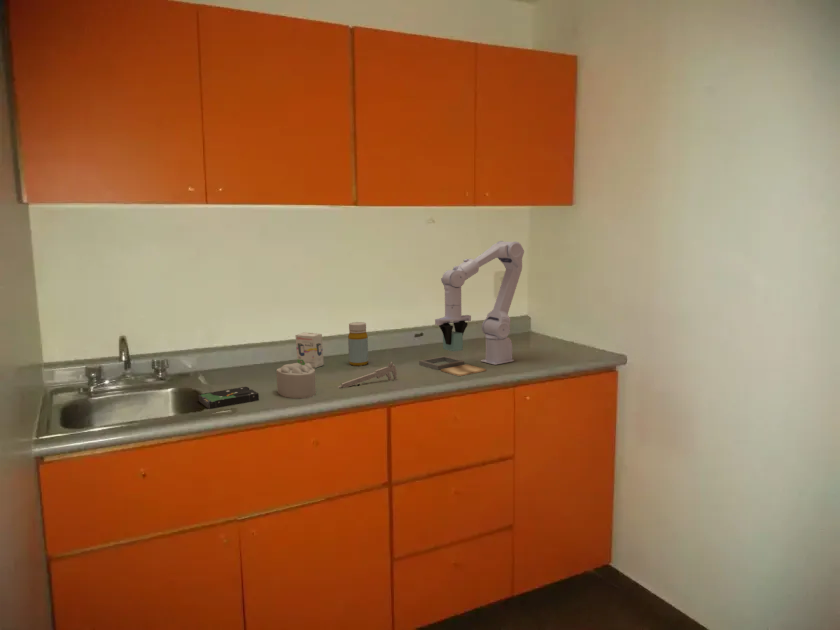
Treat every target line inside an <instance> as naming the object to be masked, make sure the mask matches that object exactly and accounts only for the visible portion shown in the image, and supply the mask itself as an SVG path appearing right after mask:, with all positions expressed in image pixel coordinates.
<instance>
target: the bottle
mask: <svg viewBox="0 0 840 630" xmlns="http://www.w3.org/2000/svg"><path fill="white" fill-rule="evenodd" d="M348 332H349V333H348V337H347V343H348V344H347V345H348V363H349V365H351V366H353V367H358V366H361V367H362V366H366V365H367V364H368V363H369V343H368V342H369V339H368V337H369V336H368V333H367V323H366V322H364V321H363V322H362V321H360V322H359V321H356V322H355V321H354V322H350V323H348Z"/></svg>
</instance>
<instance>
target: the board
mask: <svg viewBox="0 0 840 630" xmlns="http://www.w3.org/2000/svg"><path fill="white" fill-rule="evenodd" d="M440 371H441V372H444V373H447V374H450V375H452V376H453V375H454V376H458V377H463V376H467V375H471V374H472V375H473V374H477V373H481V372H487V368H483V367H479V366H476V365H472V364H468V363H467V364H464V365H460V366H455V367H450V368H445V369H441V370H440Z"/></svg>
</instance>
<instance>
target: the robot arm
mask: <svg viewBox="0 0 840 630" xmlns="http://www.w3.org/2000/svg"><path fill="white" fill-rule="evenodd" d="M524 254H525V250H524V248H523V246H522V244H521V243H520V242H519V241H503V240H500V241H497V242H496V243H493V244H492V245H491V246H490V247H489V248H487V249H486V250H484V251H483V252H482V253H480V255H477V257H475V258H465V259H463V262H461V263H459V264H458V265H455V266H452V267H453V268H452V269H448V270H446V271H445V272H443V274H442V277H441V278H440V282H441V284H442V285H443V287H444V288H443V290H444V316H443V317H440V318H435V319H434V324H435V326H438V327H439V328H440V330H441V332H442V336H443V335H444V338H445V342H446V344H448V345H451V335H452V331H453V330H454V332H460V333H463V334H464V332H465V331H466V328H467V327H468V325H469V324H468V322H472V315H470V314H465V315H462V287H463V286H464V284H465V281H466V280H468V279H470V278H471V277H473V276H474V275H476V274H478V273H479V271H480V270H479V269H480V268H481V267H483V266H485V265H486V264H488V263H490V262H491V261H493V260H495V259H498V260H499V261H500V263H502V265H503V266H504V268H505V271H504V274H503V278H502V281H501V285H500V286H499V291H498V293H497V297H496V298H495V299H496V300H495V303H494V306H493V309H492V310H491V311H490V312H488V313H487V315H486V318H485V319H484V320H483V322H482V324H481V331H482V333H483V334H484V337H485V358H484V359H480V362H482V363H487V364H490V365H493V366H494V365H496V366H497V365H501V364H507V363H511V362H514V361H515V359H513V343H512V340H511V338H510V337H508V336H509V334H510V332H511V331H510V330H511V328H510V327H511V321H512V320H511V318H510V316H509V311H510V308H511V305H512V302H513V298H514V295H515V293H516V289H517V287H518V286H517V285H518V283H519V279H520V276H521V274H522V270H523V256H524ZM451 324H453V325H451Z"/></svg>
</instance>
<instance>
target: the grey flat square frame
mask: <svg viewBox="0 0 840 630" xmlns="http://www.w3.org/2000/svg"><path fill="white" fill-rule="evenodd" d="M442 362H447V363H443V364H436V363H442ZM418 365H419V366H422V367H426V368H429V369H433V370H436V371H441V369H445V368H450V367H455V366H460V365H465V360H461V359H458V358H453V357H451V356H450V357H449V356H447V355H446V356H445V355H444V356H443V355H442V356H439V357H438V356H437V357H433V358H428V359H423V360H421V359H420V360H418Z"/></svg>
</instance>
